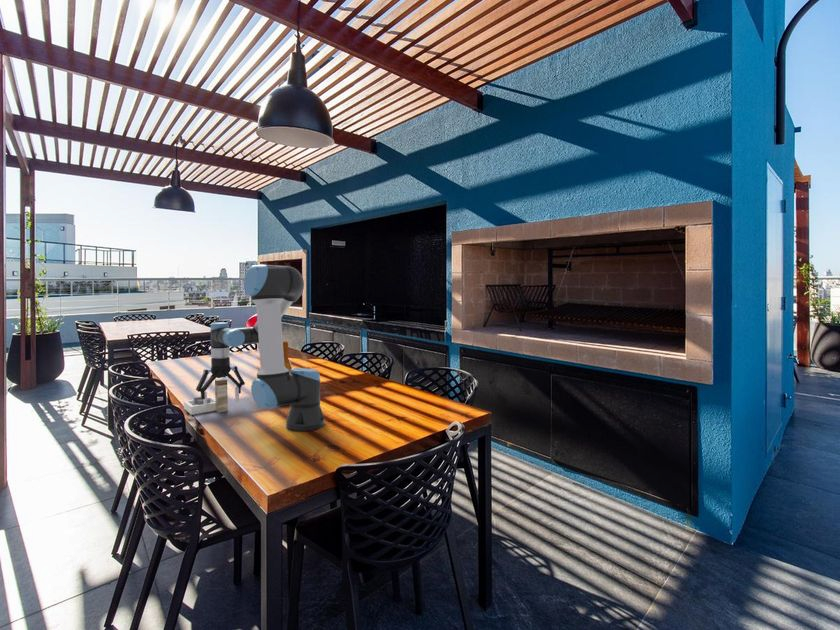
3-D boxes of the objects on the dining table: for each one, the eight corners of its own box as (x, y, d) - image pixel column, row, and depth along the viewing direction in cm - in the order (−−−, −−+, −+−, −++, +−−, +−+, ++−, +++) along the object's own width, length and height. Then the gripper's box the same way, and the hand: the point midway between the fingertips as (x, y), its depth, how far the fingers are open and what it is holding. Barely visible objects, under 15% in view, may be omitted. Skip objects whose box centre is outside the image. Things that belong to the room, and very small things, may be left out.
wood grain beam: (227, 410, 192) (227, 380, 191) (218, 412, 190) (217, 381, 189) (224, 408, 195) (224, 378, 194) (215, 410, 193) (214, 379, 192)
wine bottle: (287, 406, 199) (286, 343, 197) (270, 404, 202) (269, 342, 200) (300, 401, 209) (299, 340, 207) (283, 399, 212) (282, 339, 210)
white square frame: (220, 409, 194) (220, 398, 194) (191, 414, 186) (190, 403, 186) (211, 404, 203) (211, 393, 202) (184, 408, 195) (183, 398, 194)
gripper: (245, 353, 202) (246, 397, 203) (187, 358, 185) (188, 406, 187) (251, 355, 196) (252, 400, 198) (192, 361, 180) (193, 410, 181)
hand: (221, 403), depth 192 cm, fingers open, 13 cm apart
